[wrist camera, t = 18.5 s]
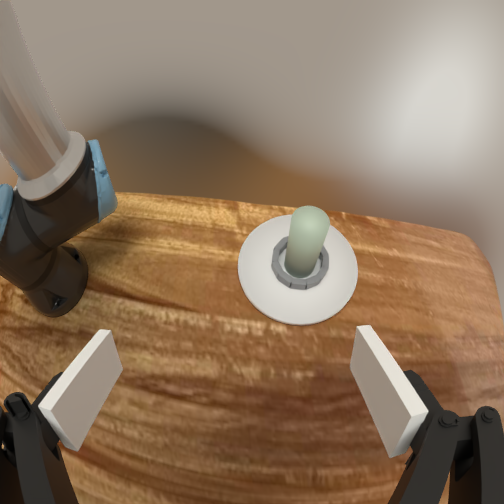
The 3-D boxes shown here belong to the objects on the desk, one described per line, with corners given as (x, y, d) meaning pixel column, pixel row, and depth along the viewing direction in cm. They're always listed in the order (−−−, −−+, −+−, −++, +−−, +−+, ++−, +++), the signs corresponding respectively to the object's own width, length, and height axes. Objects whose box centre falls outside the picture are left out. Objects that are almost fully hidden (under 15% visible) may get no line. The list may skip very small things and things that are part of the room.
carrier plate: (228, 316, 43) (226, 310, 40) (248, 212, 53) (247, 201, 50) (355, 330, 41) (361, 325, 38) (353, 225, 51) (358, 215, 48)
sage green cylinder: (282, 276, 45) (289, 235, 34) (285, 249, 47) (292, 203, 37) (313, 280, 44) (330, 240, 34) (315, 252, 47) (329, 208, 36)
